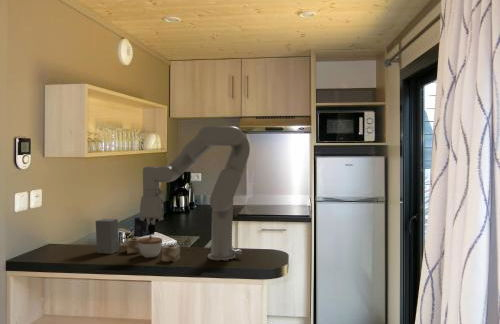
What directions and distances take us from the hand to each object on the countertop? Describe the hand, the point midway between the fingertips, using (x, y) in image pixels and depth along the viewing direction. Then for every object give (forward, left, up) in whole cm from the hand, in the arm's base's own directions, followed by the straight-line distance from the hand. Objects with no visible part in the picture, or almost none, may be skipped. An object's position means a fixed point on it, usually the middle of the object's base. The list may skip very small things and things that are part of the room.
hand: (151, 232), depth 190 cm
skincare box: (+23, -5, -11) cm, 26 cm away
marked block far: (+11, -8, -11) cm, 17 cm away
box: (+18, -51, -11) cm, 55 cm away
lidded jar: (+1, 0, -11) cm, 11 cm away
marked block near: (-10, +6, -11) cm, 16 cm away
